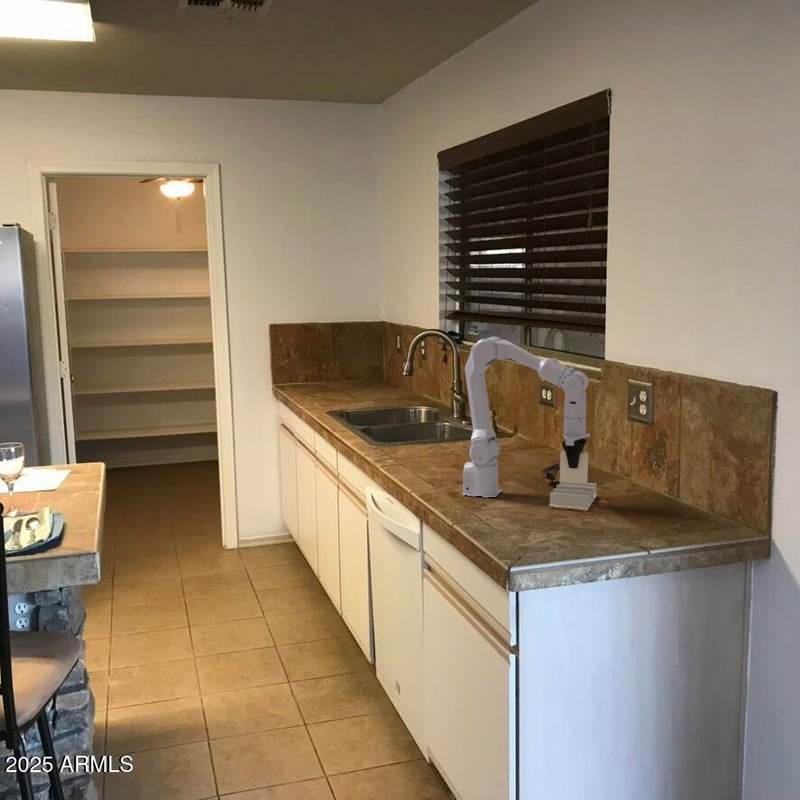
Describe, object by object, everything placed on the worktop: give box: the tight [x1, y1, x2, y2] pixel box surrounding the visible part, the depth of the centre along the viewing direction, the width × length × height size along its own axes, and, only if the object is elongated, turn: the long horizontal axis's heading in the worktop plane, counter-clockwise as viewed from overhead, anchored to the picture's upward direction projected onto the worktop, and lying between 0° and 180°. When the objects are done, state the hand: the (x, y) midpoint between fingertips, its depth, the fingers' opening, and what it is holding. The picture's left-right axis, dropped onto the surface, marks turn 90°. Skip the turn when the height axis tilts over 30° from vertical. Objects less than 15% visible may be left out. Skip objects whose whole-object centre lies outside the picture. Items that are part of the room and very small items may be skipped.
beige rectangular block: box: [559, 450, 589, 483], centre depth 232 cm, size 7×2×8 cm, turn 69°
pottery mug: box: [541, 461, 560, 482], centre depth 253 cm, size 12×10×8 cm
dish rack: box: [549, 480, 598, 511], centre depth 233 cm, size 10×15×4 cm, turn 159°
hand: (574, 467), depth 232 cm, fingers closed on beige rectangular block, 2 cm apart
